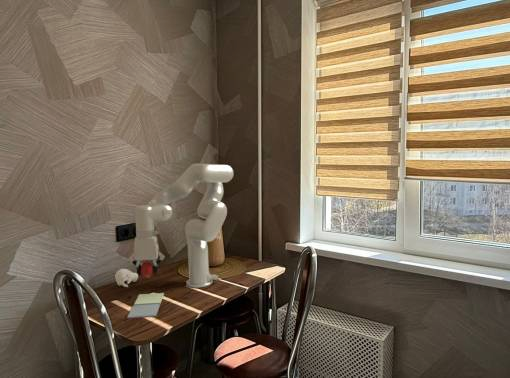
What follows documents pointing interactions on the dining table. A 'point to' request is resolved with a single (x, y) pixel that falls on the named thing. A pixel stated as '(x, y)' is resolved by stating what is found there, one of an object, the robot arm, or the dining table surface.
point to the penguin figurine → (125, 277)
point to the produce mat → (149, 299)
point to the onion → (147, 269)
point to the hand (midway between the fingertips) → (147, 274)
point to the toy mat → (144, 311)
